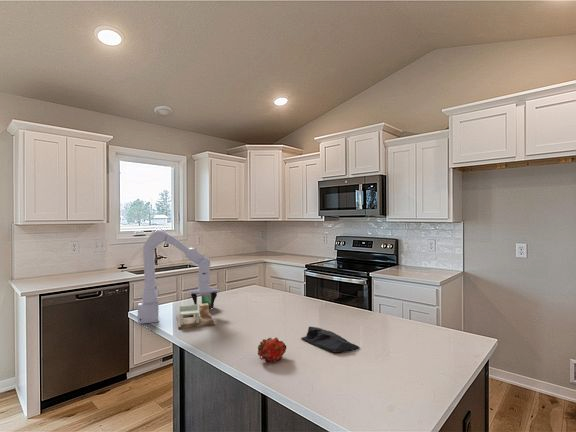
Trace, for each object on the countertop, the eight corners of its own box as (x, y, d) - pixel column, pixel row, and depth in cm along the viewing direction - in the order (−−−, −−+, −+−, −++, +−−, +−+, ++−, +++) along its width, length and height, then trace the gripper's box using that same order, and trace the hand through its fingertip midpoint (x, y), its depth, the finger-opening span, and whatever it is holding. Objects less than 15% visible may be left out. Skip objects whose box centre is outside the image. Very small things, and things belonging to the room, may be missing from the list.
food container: (212, 311, 175) (212, 292, 175) (201, 311, 175) (201, 292, 175) (218, 305, 188) (218, 287, 188) (207, 305, 188) (207, 287, 188)
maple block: (200, 315, 163) (200, 305, 163) (199, 313, 167) (199, 303, 167) (208, 315, 165) (208, 305, 165) (207, 312, 168) (207, 303, 168)
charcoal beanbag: (331, 358, 118) (331, 345, 118) (298, 339, 137) (298, 327, 137) (363, 349, 125) (363, 337, 125) (327, 332, 144) (327, 321, 144)
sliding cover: (180, 325, 149) (180, 309, 149) (179, 320, 155) (179, 306, 155) (198, 323, 152) (198, 308, 152) (197, 318, 158) (197, 304, 158)
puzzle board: (178, 329, 147) (178, 326, 147) (176, 316, 166) (176, 314, 166) (214, 325, 153) (214, 322, 153) (208, 313, 171) (208, 311, 172)
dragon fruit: (254, 368, 112) (283, 364, 119) (266, 360, 107) (295, 357, 114) (250, 343, 117) (278, 341, 124) (261, 334, 112) (290, 332, 119)
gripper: (217, 278, 172) (217, 304, 172) (188, 280, 167) (188, 307, 167) (219, 281, 166) (219, 308, 166) (189, 283, 160) (189, 311, 160)
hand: (203, 308), depth 166 cm, fingers open, 7 cm apart
